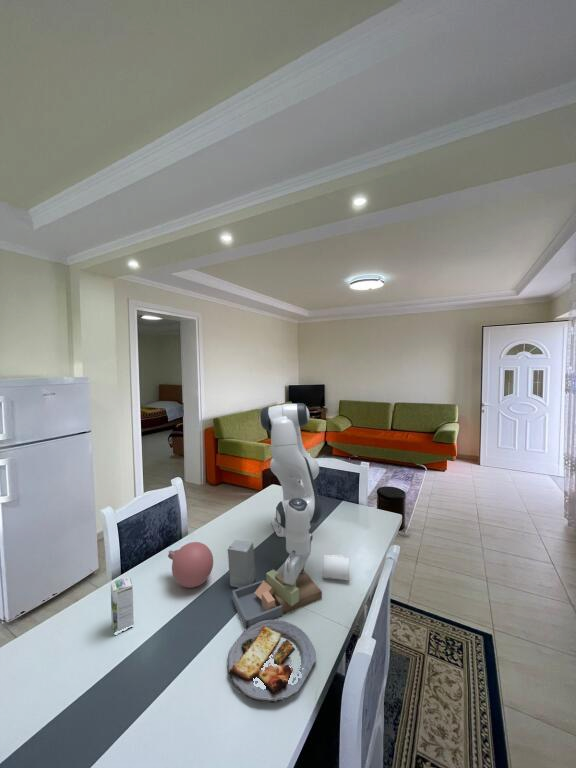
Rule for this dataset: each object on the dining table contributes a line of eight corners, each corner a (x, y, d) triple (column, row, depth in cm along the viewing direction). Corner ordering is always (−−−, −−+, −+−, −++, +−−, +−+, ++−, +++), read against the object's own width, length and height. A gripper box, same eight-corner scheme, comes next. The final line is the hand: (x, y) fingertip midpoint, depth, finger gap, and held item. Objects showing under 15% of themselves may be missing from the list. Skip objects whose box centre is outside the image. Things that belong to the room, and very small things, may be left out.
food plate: (281, 727, 74) (281, 713, 74) (210, 677, 87) (209, 664, 86) (326, 649, 95) (326, 637, 95) (264, 617, 108) (264, 607, 108)
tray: (232, 600, 114) (231, 590, 114) (264, 588, 120) (264, 579, 120) (246, 631, 101) (246, 620, 101) (282, 616, 107) (282, 606, 107)
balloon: (185, 562, 136) (184, 528, 135) (221, 577, 126) (221, 540, 125) (155, 584, 122) (154, 546, 121) (193, 603, 113) (192, 561, 112)
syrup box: (111, 624, 104) (109, 582, 103) (130, 616, 107) (129, 575, 106) (114, 636, 99) (112, 592, 98) (134, 627, 103) (133, 584, 102)
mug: (348, 585, 122) (349, 565, 121) (322, 582, 124) (322, 562, 123) (349, 566, 134) (349, 547, 133) (325, 563, 136) (325, 545, 135)
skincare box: (255, 580, 125) (255, 541, 124) (247, 592, 118) (247, 551, 117) (236, 575, 128) (236, 537, 127) (227, 587, 121) (227, 547, 120)
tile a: (257, 597, 115) (254, 592, 114) (266, 584, 118) (263, 580, 117) (265, 604, 111) (262, 600, 110) (274, 591, 114) (271, 587, 113)
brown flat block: (265, 589, 120) (265, 581, 120) (302, 576, 127) (302, 568, 127) (282, 615, 107) (282, 606, 107) (321, 599, 115) (321, 591, 115)
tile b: (268, 604, 112) (261, 606, 110) (268, 590, 111) (261, 593, 110) (274, 613, 107) (268, 616, 106) (274, 599, 107) (268, 602, 106)
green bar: (266, 584, 118) (266, 570, 117) (273, 580, 120) (273, 566, 120) (291, 606, 107) (291, 590, 107) (298, 601, 110) (298, 585, 109)
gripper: (296, 562, 106) (296, 602, 107) (314, 532, 125) (313, 565, 126) (279, 558, 109) (279, 597, 109) (299, 529, 127) (299, 562, 128)
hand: (297, 580), depth 118 cm, fingers open, 7 cm apart
